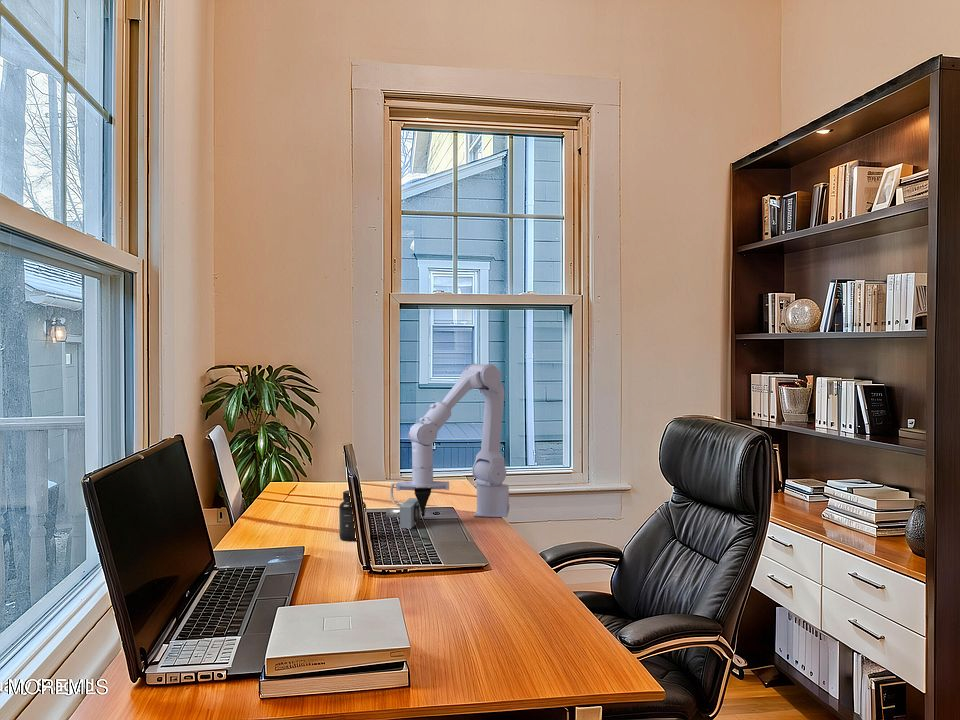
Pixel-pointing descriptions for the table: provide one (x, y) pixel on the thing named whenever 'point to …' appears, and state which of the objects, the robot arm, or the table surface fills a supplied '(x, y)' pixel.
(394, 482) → the hook
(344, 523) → the supplement bottle
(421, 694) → the table surface
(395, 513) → the pin
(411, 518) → the hitch block
